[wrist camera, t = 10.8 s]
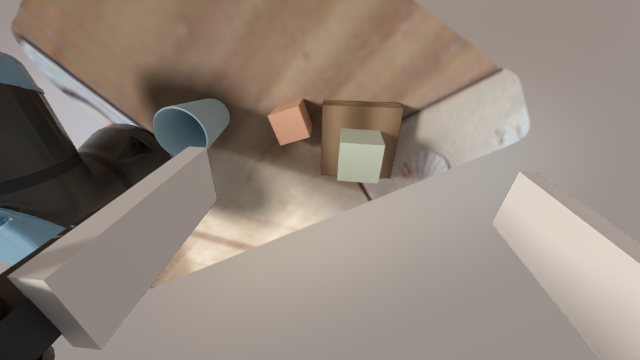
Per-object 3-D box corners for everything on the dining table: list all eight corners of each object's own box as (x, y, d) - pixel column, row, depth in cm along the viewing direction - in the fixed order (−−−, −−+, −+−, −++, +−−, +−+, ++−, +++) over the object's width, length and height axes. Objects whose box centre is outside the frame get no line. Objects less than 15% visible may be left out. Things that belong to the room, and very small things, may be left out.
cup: (210, 80, 39) (171, 94, 30) (245, 117, 42) (219, 140, 33) (184, 109, 42) (141, 129, 33) (218, 142, 45) (187, 169, 36)
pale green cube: (338, 162, 41) (337, 180, 36) (341, 128, 38) (340, 142, 33) (373, 165, 41) (378, 183, 35) (379, 130, 38) (385, 145, 32)
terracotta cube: (286, 134, 43) (280, 145, 39) (275, 107, 41) (267, 115, 36) (313, 126, 42) (309, 137, 38) (303, 98, 40) (298, 105, 35)
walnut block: (322, 164, 46) (320, 174, 42) (324, 99, 40) (322, 105, 36) (386, 167, 45) (390, 178, 42) (398, 101, 39) (403, 108, 36)
